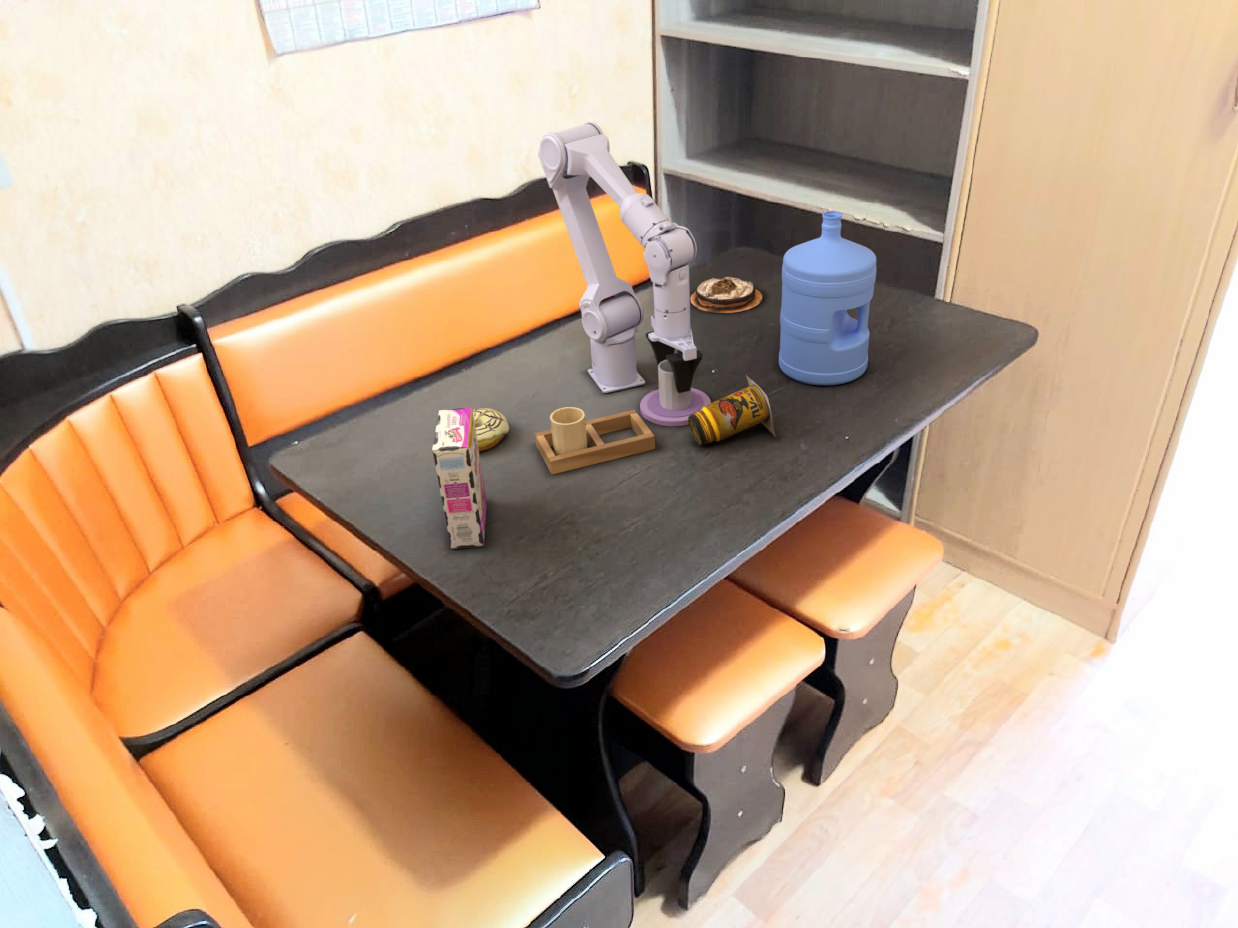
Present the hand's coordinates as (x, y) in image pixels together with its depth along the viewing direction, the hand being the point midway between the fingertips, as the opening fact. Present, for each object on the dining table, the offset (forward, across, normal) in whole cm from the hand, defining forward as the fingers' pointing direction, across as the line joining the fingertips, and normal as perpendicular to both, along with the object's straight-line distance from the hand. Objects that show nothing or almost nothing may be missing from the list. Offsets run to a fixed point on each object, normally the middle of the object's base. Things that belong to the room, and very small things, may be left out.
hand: (674, 381), depth 154 cm
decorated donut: (+5, -5, -34) cm, 34 cm away
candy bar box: (+5, +18, -40) cm, 44 cm away
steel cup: (+4, 0, 0) cm, 4 cm away
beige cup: (+5, +6, -20) cm, 22 cm away
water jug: (+5, -2, +30) cm, 30 cm away
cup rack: (+5, +6, -16) cm, 18 cm away
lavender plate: (+5, 0, 0) cm, 5 cm away
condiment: (+1, +12, +10) cm, 16 cm away
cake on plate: (+5, -38, +28) cm, 47 cm away
